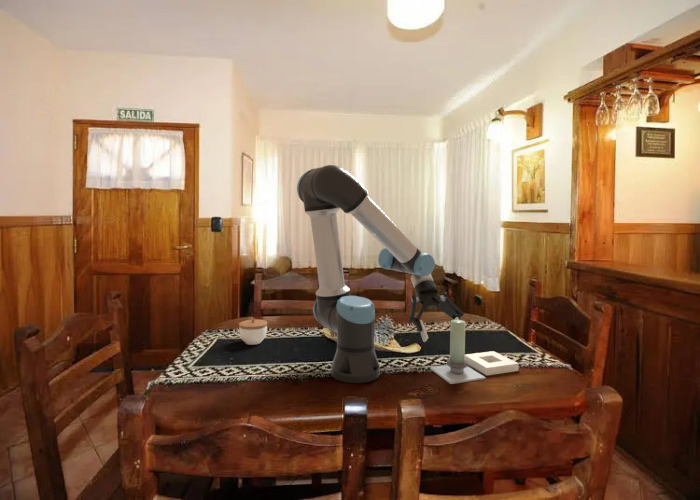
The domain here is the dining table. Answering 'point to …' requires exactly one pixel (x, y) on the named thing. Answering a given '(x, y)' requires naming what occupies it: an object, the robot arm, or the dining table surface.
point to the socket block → (486, 367)
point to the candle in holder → (457, 347)
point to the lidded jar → (253, 331)
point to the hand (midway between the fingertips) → (444, 338)
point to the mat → (453, 378)
